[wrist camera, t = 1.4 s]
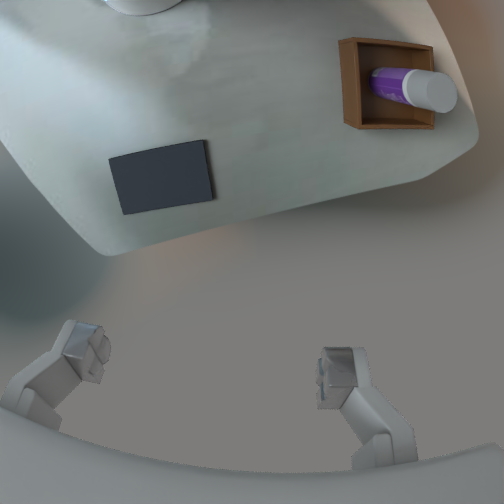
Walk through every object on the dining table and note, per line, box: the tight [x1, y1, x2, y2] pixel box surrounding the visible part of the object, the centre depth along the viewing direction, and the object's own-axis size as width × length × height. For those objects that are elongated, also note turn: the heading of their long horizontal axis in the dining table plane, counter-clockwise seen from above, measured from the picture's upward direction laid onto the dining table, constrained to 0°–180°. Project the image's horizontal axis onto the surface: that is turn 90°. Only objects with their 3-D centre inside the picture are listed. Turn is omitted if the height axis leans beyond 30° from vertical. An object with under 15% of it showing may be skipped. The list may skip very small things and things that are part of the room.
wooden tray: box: [338, 37, 435, 129], centre depth 36 cm, size 12×12×5 cm
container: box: [367, 67, 458, 113], centre depth 32 cm, size 5×5×15 cm
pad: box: [109, 140, 213, 215], centre depth 44 cm, size 9×14×1 cm, turn 96°
